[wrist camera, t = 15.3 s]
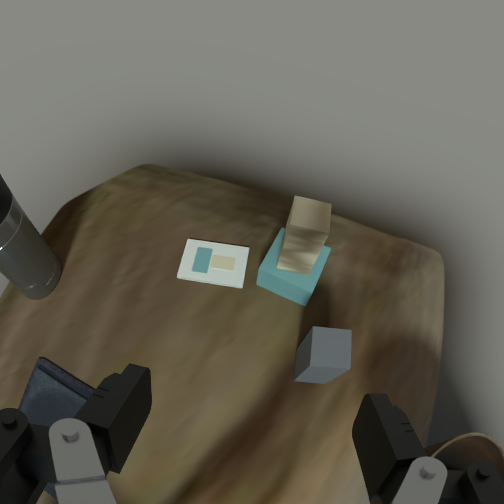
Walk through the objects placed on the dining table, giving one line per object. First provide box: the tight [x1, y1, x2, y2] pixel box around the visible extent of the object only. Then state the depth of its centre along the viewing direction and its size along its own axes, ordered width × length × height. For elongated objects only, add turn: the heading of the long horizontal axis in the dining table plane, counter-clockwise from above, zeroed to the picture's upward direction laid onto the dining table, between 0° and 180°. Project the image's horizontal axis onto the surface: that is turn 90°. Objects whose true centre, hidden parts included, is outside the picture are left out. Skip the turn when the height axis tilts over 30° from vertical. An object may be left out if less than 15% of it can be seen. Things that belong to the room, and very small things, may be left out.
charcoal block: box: [293, 326, 351, 384], centre depth 36 cm, size 4×4×10 cm
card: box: [177, 239, 249, 288], centre depth 48 cm, size 10×7×1 cm
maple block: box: [276, 196, 331, 275], centre depth 40 cm, size 4×4×10 cm
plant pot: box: [369, 433, 504, 504], centre depth 24 cm, size 15×15×16 cm
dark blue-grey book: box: [18, 357, 96, 499], centre depth 31 cm, size 20×2×15 cm
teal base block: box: [256, 228, 331, 307], centre depth 46 cm, size 8×8×5 cm
